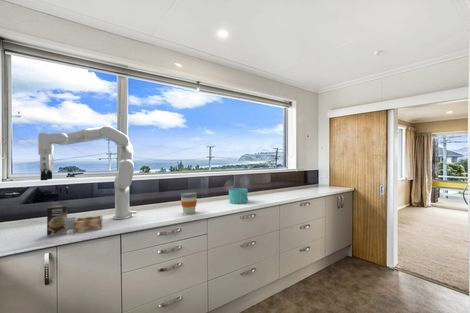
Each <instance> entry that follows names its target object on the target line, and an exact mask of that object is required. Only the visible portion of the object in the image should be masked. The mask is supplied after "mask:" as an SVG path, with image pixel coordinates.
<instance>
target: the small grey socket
mask: <svg viewBox="0 0 470 313" xmlns="http://www.w3.org/2000/svg"><path fill="white" fill-rule="evenodd" d="M76 218H79V216H72V217H71V216H70V217H67V229H72V228H73V229H74V221H75V220H76Z"/></svg>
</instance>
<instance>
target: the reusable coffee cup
mask: <svg viewBox="0 0 470 313" xmlns="http://www.w3.org/2000/svg"><path fill="white" fill-rule="evenodd" d="M197 197H198V194H197V192H196V191H195V192H194V191H190V192H189V191H187V192H181V193H180V198H181V200H180V201H181V202H180V203H181V207H182V212H183V213H182V214H186V215H187V214H189V215H190V214H194V213H196V206H197V200H198V199H197Z"/></svg>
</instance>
